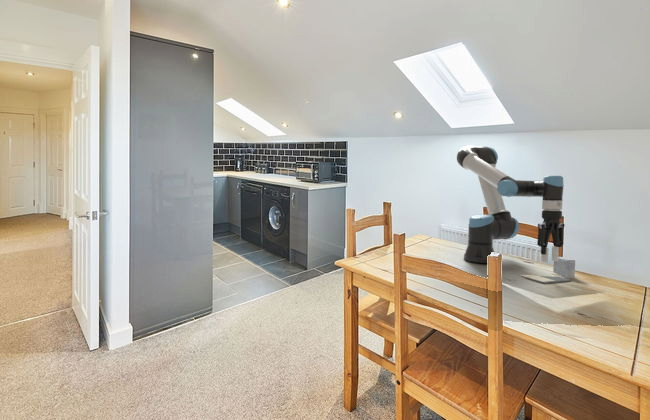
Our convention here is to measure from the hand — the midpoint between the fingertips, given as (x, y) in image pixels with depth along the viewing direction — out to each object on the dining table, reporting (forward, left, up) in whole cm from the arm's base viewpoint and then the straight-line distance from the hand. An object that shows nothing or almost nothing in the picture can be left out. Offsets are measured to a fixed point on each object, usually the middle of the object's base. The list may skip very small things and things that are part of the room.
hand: (549, 261), depth 154 cm
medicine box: (0, +10, -8) cm, 13 cm away
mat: (0, -3, -8) cm, 8 cm away
